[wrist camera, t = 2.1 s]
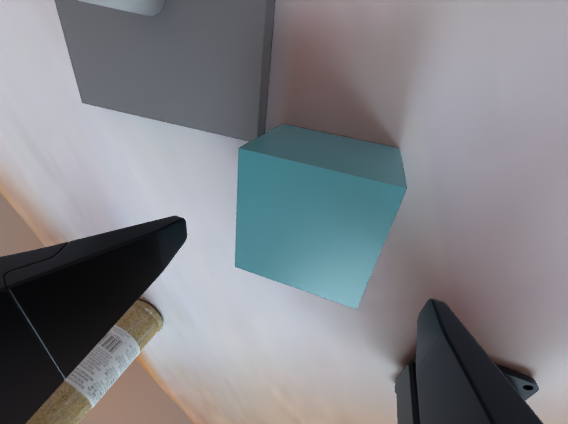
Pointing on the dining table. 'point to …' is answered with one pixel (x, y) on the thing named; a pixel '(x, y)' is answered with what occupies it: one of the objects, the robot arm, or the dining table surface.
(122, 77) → the thin grey square panel
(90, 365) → the sprinkles bottle
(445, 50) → the dining table surface
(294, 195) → the teal cube
